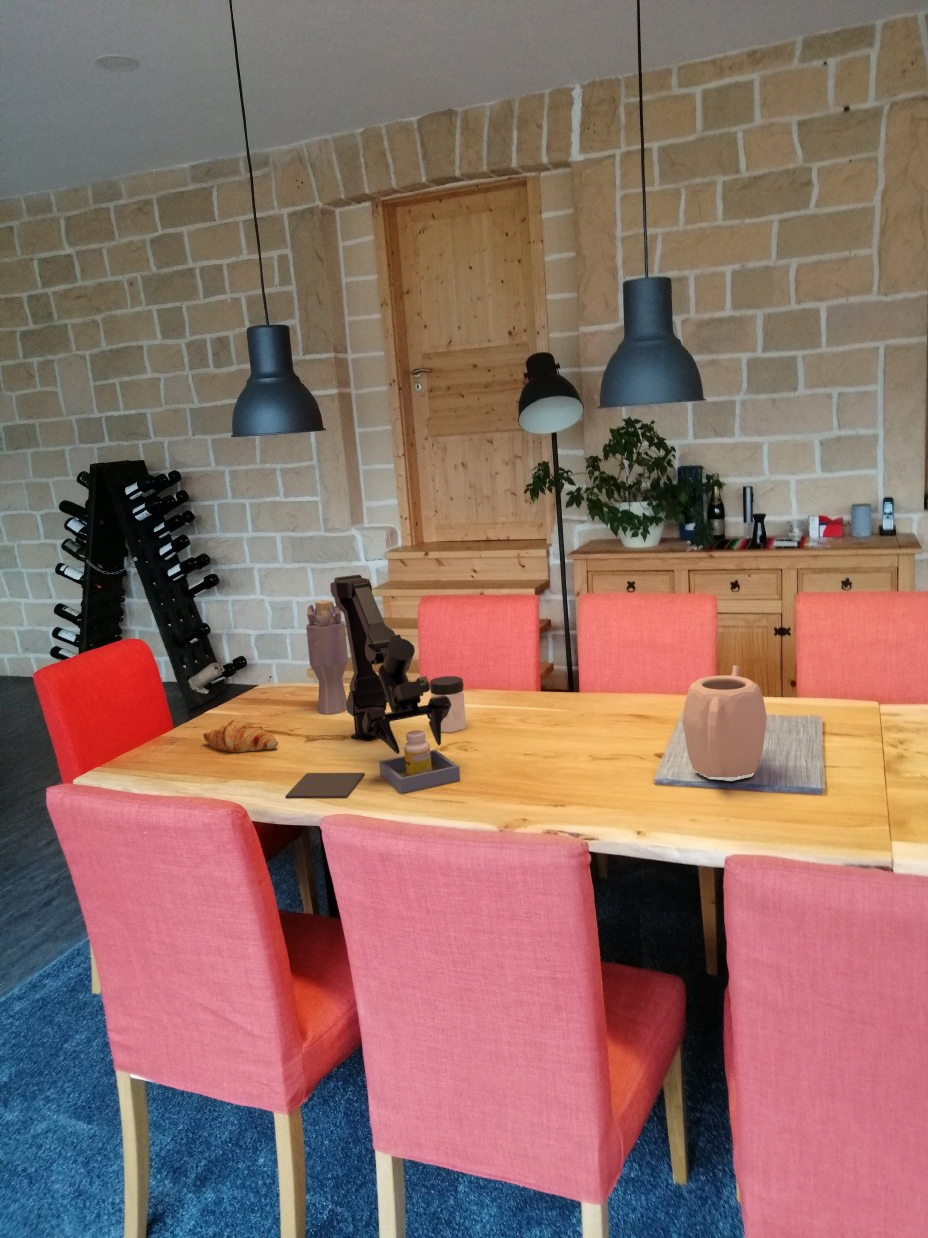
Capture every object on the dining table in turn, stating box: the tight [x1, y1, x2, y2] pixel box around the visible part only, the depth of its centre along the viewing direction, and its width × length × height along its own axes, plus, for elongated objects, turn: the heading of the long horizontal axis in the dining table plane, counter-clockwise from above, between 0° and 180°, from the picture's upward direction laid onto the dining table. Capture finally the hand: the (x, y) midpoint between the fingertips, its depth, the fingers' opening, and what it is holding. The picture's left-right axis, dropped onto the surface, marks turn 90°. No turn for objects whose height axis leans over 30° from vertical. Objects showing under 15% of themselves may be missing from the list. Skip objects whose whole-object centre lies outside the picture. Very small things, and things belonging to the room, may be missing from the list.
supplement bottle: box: [403, 729, 433, 777], centre depth 195 cm, size 5×5×10 cm
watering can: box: [682, 665, 767, 777], centre depth 185 cm, size 16×27×19 cm, turn 154°
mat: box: [285, 772, 366, 799], centre depth 194 cm, size 13×13×1 cm
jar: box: [429, 675, 467, 734], centre depth 227 cm, size 9×8×12 cm
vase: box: [305, 600, 349, 715], centre depth 249 cm, size 10×10×30 cm
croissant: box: [202, 720, 279, 753], centre depth 225 cm, size 21×10×8 cm, turn 69°
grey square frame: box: [378, 749, 461, 795], centre depth 195 cm, size 13×13×3 cm
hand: (419, 748), depth 193 cm, fingers open, 9 cm apart
